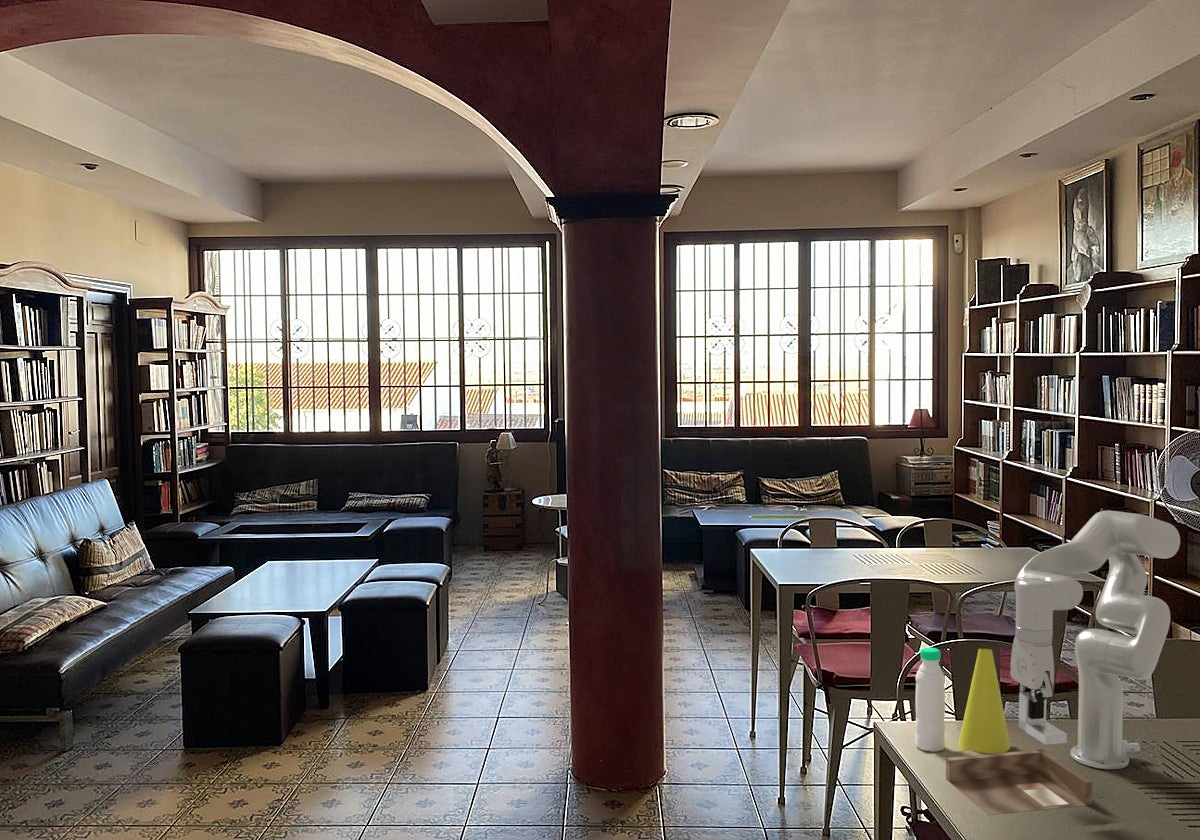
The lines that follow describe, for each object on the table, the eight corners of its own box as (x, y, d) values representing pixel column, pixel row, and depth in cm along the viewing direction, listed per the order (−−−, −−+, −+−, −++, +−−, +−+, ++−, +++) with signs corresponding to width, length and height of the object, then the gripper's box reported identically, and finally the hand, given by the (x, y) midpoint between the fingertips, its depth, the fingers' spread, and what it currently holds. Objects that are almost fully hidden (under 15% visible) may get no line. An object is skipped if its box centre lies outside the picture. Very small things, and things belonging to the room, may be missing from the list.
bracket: (1018, 727, 224) (1019, 692, 223) (1039, 725, 224) (1039, 691, 224) (1045, 744, 214) (1046, 708, 213) (1066, 743, 215) (1067, 706, 214)
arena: (1041, 774, 233) (1042, 749, 232) (1091, 809, 215) (1092, 782, 215) (945, 783, 229) (946, 757, 229) (988, 819, 211) (988, 791, 211)
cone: (958, 735, 257) (959, 640, 255) (1010, 741, 252) (1011, 644, 251) (957, 754, 245) (958, 654, 244) (1011, 760, 241) (1012, 659, 239)
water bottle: (946, 753, 246) (947, 654, 244) (916, 751, 247) (917, 652, 245) (942, 742, 252) (943, 645, 251) (913, 740, 254) (914, 644, 252)
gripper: (998, 626, 229) (996, 704, 230) (1039, 646, 213) (1038, 730, 214) (1028, 624, 230) (1026, 702, 231) (1071, 644, 214) (1070, 727, 215)
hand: (1032, 715), depth 223 cm, fingers closed on bracket, 2 cm apart
